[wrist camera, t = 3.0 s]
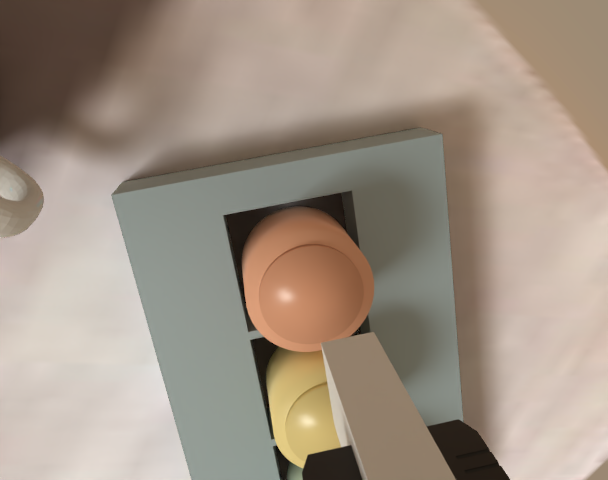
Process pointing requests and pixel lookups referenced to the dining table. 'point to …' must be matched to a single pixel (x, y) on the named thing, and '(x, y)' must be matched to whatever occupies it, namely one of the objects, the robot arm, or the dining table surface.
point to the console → (229, 298)
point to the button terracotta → (305, 279)
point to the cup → (17, 199)
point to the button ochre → (300, 404)
